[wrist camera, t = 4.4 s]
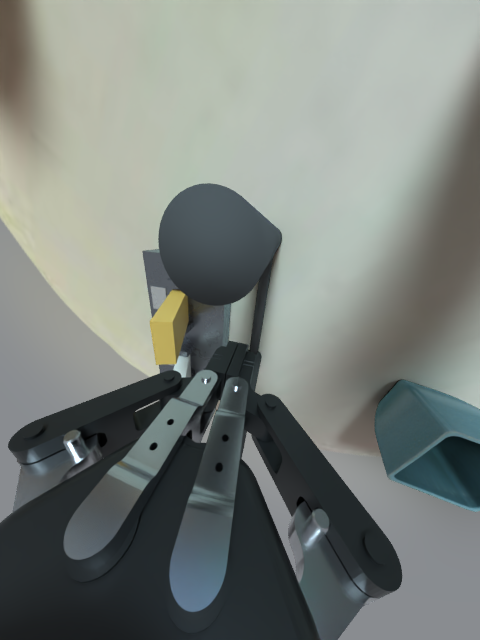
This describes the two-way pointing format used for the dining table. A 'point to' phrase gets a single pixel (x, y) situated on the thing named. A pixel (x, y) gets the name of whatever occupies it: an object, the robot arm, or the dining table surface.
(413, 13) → the dining table surface
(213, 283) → the cable posts
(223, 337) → the strip
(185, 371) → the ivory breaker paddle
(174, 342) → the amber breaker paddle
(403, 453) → the flower pot
